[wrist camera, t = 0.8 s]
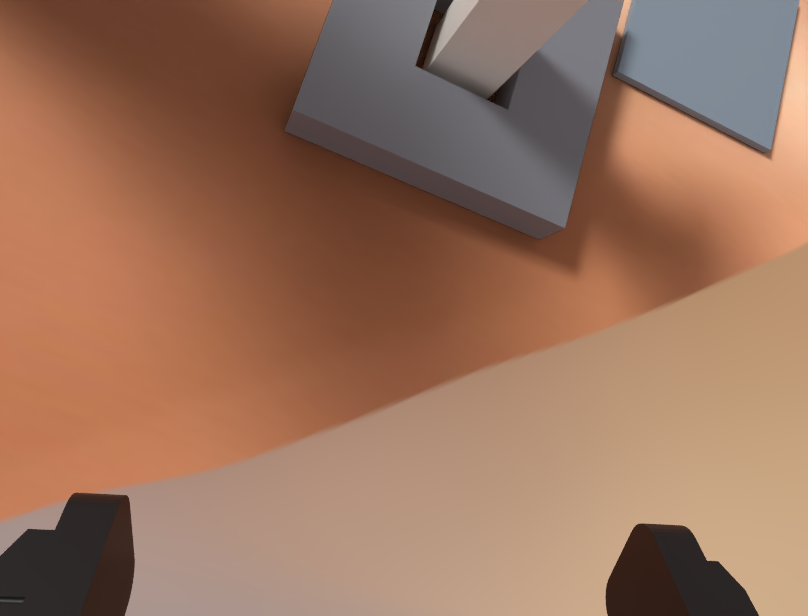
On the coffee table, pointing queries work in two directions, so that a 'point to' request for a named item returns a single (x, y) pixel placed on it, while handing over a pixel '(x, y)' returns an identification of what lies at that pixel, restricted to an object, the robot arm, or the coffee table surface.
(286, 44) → the coffee table surface
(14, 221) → the coffee table surface
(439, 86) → the socket block
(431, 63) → the t key
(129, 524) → the robot arm
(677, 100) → the mat
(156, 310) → the coffee table surface
